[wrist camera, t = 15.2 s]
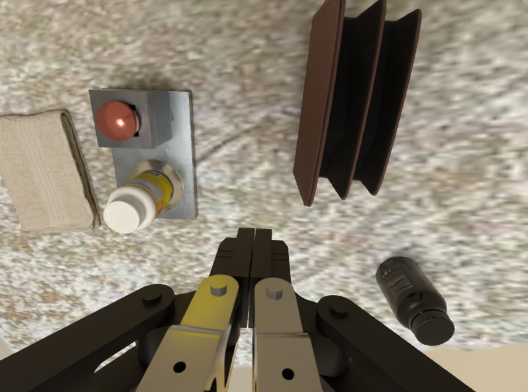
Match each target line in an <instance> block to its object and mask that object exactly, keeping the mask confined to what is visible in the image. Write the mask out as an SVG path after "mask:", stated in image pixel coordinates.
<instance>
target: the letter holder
mask: <svg viewBox="0 0 528 392" xmlns="http://www.w3.org/2000/svg"><path fill="white" fill-rule="evenodd" d="M345 4H346V0H326V1H325V2H324V3H323V5H322V6H321V8H320V9H319V10H318V11H317V12H316V14H315V15H314V16H313V21H312V31H311V39H310V47H309V55H308V63H307V71H306V78H305V86H304V93H303V101H302V109H301V118H300V125H299V133H298V140H297V148H296V156H295V163H294V169H293V174H294V176H295V180H296V183H297V185H298V189H299V192H300V195H301V197H302V200H303V202H304V205H305V206H308V207H311V205H312V203H313V200H314V196H315V192H316V187H317V182H318V177H321V178H328V179H329V181H330V182H331V184H332V186H333V187H334V189H335V190H336V192H337V193H338V195H339V196H340V198H341V199H342V200H345V199H346V198H347V196H348V193H349V189H350V186H351V182H352V180H356V181H361V182H362V183H363V185H364V186H365V187H366V188H367V190H368V191H369V193H370V194H372V195H373V196H375V195H377V193H378V191H379V189H380V187H381V184H382V181H383V178H384V175H385V171H386V168H387V165H388V161H389V157H390V154H391V150H392V147H393V143H394V140H395V136H396V132H397V128H398V124H399V120H400V116H401V112H402V108H403V104H404V100H405V96H406V92H407V88H408V84H409V81H410V76H411V71H412V67H413V63H414V58H415V54H416V48H417V44H418V39H419V33H420V26H421V19H422V13H421V10H420V9H416V10H415V11H413V12H411V13H409V14H408V15H406V16H404V17H402V18H401V19H399V20H397V21H385V15H386V0H378V1H377V2H375V3H374V4H373V5H372V6H371V7H369V8H368V9H367V10H365V11H364V12H363V13H362V14H360V15H359V16H358V17H357V18H356V17H354V18H349V17H344V13H345Z"/></svg>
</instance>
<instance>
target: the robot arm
mask: <svg viewBox="0 0 528 392" xmlns="http://www.w3.org/2000/svg"><path fill="white" fill-rule="evenodd" d="M254 241H255V242H254ZM248 311H249V325H248V328H253V336H252V337H253V338H252V392H322V391H323V392H475V391H474V390H472V389H471V388H470V387H468V386H467V385H465V384H464V383H463V382H462V381H460V380H459V379H458V378H456V377H455V376H453V375H452V374H451V373H449V372H448V371H447V370H445V369H444V368H442V367H441V366H440V365H438V364H437V363H436V362H434V361H433V360H432V359H430V358H429V357H427V356H426V355H425V354H423V353H422V352H421V351H419V350H418V349H417V348H415V347H414V346H412V345H411V344H410V343H408V342H407V341H406V340H404V339H403V338H401V337H400V336H399V335H397V334H396V333H395V332H393V331H392V330H391V329H389V328H388V327H386V326H385V325H384V324H382V323H381V322H380V321H378V320H377V319H375V318H374V317H373V316H371V315H370V314H369V313H367V312H366V311H365V310H363V309H362V308H360V307H359V306H358V305H356V304H355V303H354V302H352V301H351V300H349V299H347V298H345V297H342V296H337V295H328V296H325V297H323V298H321V299H320V300H319V302H318V303H316V302H313V301H310V300H307V299H304V298H302V297H301V296H299V295H298V294H297V293H296V292H295V291H294V288H293V286H292V285H291V276H290V264H289V253H288V246H287V245H286V244H285V243H284V241H281V240H272V229H259V228H256V234H255V228H241V227H239V230H238V234H237V238H229V237H227V238H225V239H224V240H223V241H222V242H221V243H220V245H219V248H218V252H217V254H216V257H215V260H214V263H213V266H212V269H211V272H210V275H209V277H207V278H205V279H204V280H203V281H202V282H201V283H200V284H199V286H198V288H197V290H195V291H193V292H189V293H184V294H178V295H174V291H173V289H172V288H171V287H169V286H167V285H163V284H152V285H148V286H145V287H143V288H140V289H139V290H137V291H135V292H133V293H131V294H129V295H127V296H125V297H123V298H121V299H119V300H117V301H115V302H113V303H111V304H109V305H107V306H105V307H104V308H102V309H100V310H98V311H96V312H94V313H92V314H90V315H88V316H86V317H84V318H82V319H80V320H78V321H76V322H74V323H72V324H70V325H69V326H67V327H65V328H63V329H61V330H59V331H57V332H55V333H53V334H51V335H49V336H47V337H45V338H43V339H41V340H39V341H37V342H35V343H34V344H32V345H30V346H28V347H26V348H24V349H22V350H20V351H18V352H16V353H14V354H12V355H10V356H8V357H6V358H4V359H3V360H0V392H227V391H228V387H229V382H230V378H231V373H232V369H233V364H234V360H235V356H236V351H237V346H238V339H239V336H240V328H247V320H248ZM134 341H135V343H136V346H134V347H133V348H131V349H130V350H128V351H127V352H125V353H124V354H122V355H121V356H119V357H118V358H116V359H115V360H113V361H112V362H110V363H109V364H107V365H106V366H104V367H102V368H101V369H99V370H98V371H96V372H95V370H96V369H97V367H98V366H99V365H100V364H101V363H102V362H104V361H105V360H107V359H108V358H110V357H111V356H113V355H114V354H116V353H117V352H119V351H121V350H122V349H124V348H125V347H127V346H128V345H130V344H131V343H133V342H134ZM94 372H95V373H94Z"/></svg>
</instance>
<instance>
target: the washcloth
mask: <svg viewBox="0 0 528 392" xmlns="http://www.w3.org/2000/svg"><path fill="white" fill-rule="evenodd" d="M0 173H1V177H2V178H3V180H4V182H5V186H6V187H7V189H8V193H9V195H10V197H11V199H12V201H13V205H14V206H15V209H16V212H17V215H18V218H19V221H20V222H21V226H22V227H23V228H24V229H25V231H30V232H31V233H33V234H35V235H39V234H42V233H48V232H79V231H93V229H94V228H98V227H99V226H100V224H99V220H98V219H99V210H98V209H99V208H98V204H97V200H96V197H95V193H94V191H93V187H92V184H91V180H90V177H89V173H88V170H87V166H86V163H85V160H84V157H83V154H82V151H81V148H80V144H79V141H78V137H77V134H76V130H75V127H74V124H73V121H72V119H71V117H70V115H69V114H68V113H67V112H66V111H64V110H61V111H60V110H55V111H51V112H50V111H47V112H43V113H41V114H37V115H34V116H33V115H31V116H21V115H8V116H7V115H5V116H0Z"/></svg>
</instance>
